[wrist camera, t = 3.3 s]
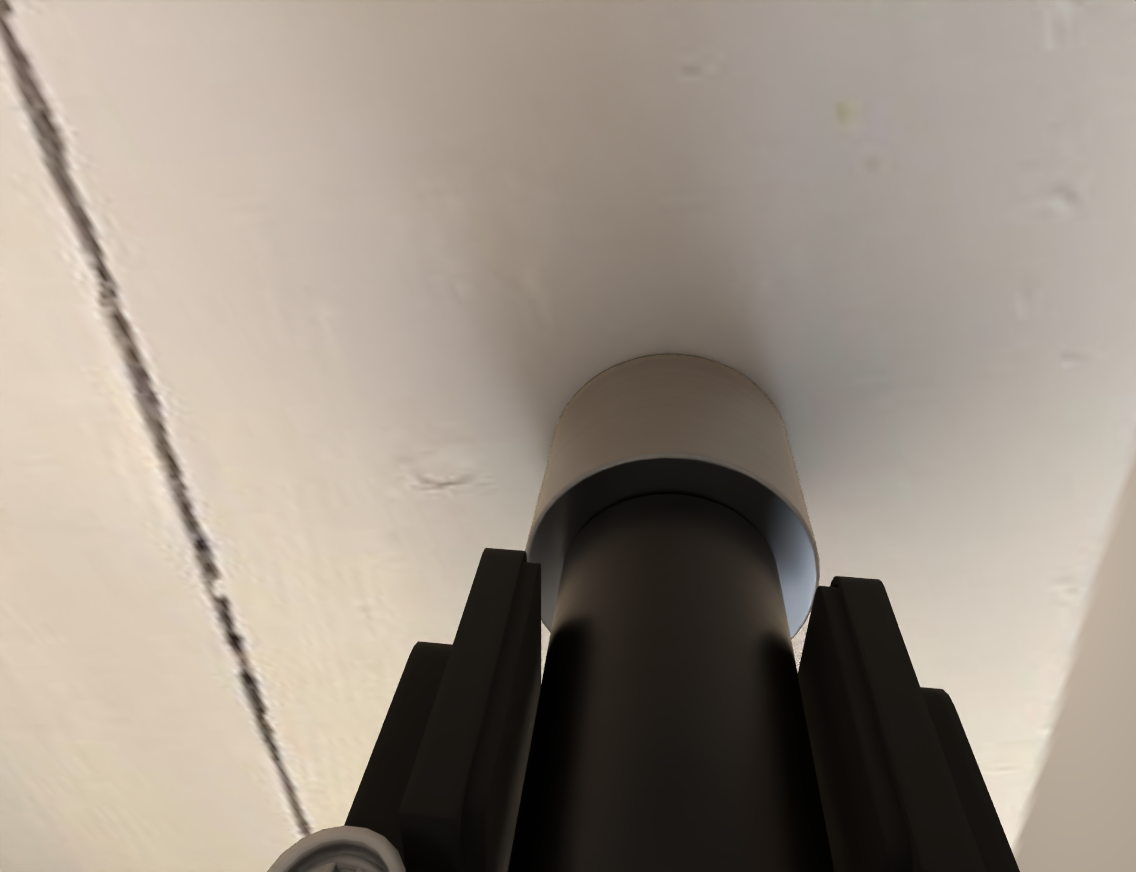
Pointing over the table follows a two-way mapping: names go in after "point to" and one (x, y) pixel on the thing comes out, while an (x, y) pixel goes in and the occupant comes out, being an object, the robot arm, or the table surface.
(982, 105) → the table surface
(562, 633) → the torch
